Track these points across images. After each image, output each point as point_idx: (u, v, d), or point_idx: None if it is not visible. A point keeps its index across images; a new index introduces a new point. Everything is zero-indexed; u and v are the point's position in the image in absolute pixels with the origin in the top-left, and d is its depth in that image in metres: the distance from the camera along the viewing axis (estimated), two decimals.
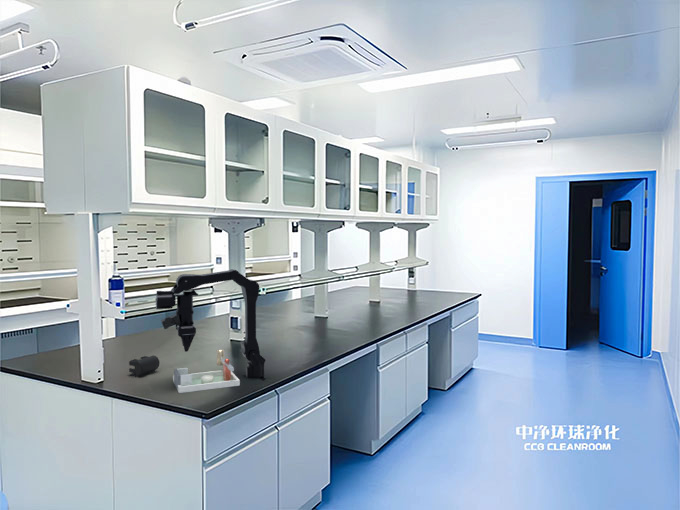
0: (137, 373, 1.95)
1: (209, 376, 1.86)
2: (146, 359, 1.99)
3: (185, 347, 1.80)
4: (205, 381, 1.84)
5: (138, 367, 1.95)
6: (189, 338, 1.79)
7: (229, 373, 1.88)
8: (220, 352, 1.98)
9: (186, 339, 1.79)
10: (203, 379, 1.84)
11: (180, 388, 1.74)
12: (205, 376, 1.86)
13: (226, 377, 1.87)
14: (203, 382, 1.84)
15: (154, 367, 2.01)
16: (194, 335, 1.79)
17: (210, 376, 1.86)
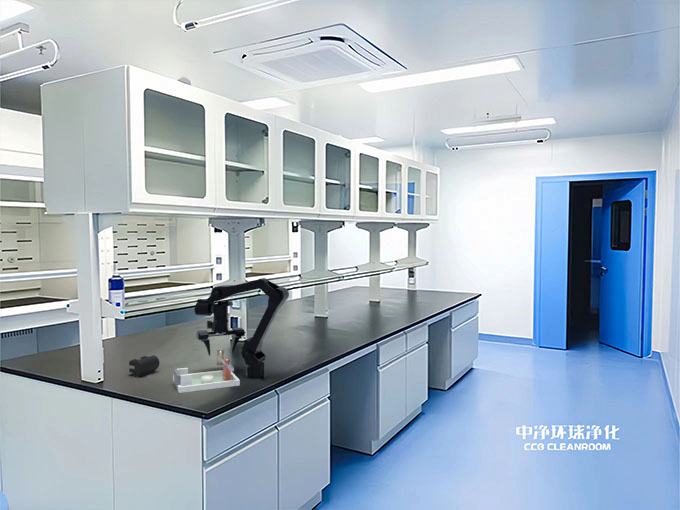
0: (137, 373, 1.95)
1: (209, 376, 1.86)
2: (146, 359, 1.99)
3: (207, 351, 1.97)
4: (205, 381, 1.84)
5: (138, 367, 1.95)
6: None
7: (229, 373, 1.88)
8: (220, 352, 1.98)
9: (206, 344, 1.97)
10: (203, 379, 1.84)
11: (180, 388, 1.74)
12: (205, 376, 1.86)
13: (226, 377, 1.87)
14: (203, 382, 1.84)
15: (154, 367, 2.01)
16: (204, 342, 1.94)
17: (210, 376, 1.86)
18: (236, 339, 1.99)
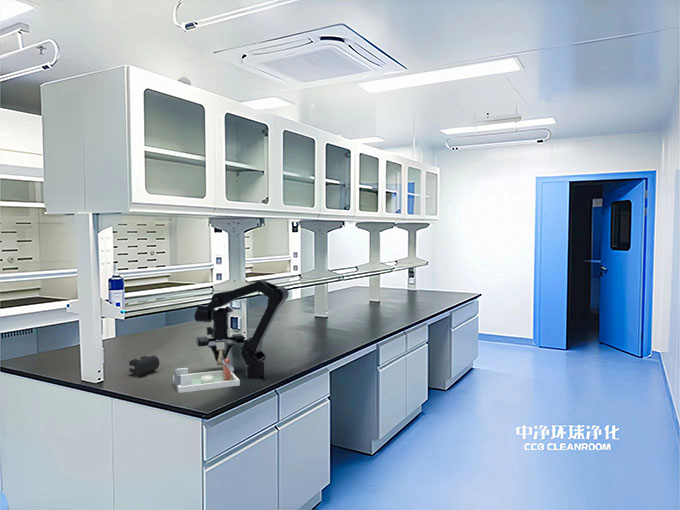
0: (137, 373, 1.95)
1: (209, 376, 1.86)
2: (146, 359, 1.99)
3: None
4: (205, 381, 1.84)
5: (138, 367, 1.95)
6: None
7: (229, 373, 1.88)
8: (220, 352, 1.98)
9: (213, 350, 1.98)
10: (203, 379, 1.84)
11: (180, 388, 1.74)
12: (205, 376, 1.86)
13: (226, 377, 1.87)
14: (203, 382, 1.84)
15: (154, 367, 2.01)
16: (211, 348, 1.95)
17: (210, 376, 1.86)
18: (229, 346, 1.98)
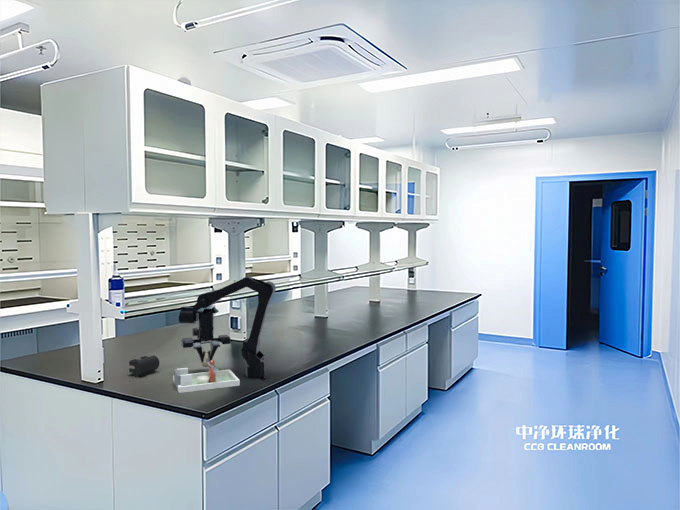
0: (137, 373, 1.95)
1: (205, 376, 1.86)
2: (146, 359, 1.99)
3: (200, 359, 1.96)
4: (201, 381, 1.83)
5: (138, 367, 1.95)
6: None
7: (214, 375, 1.85)
8: (206, 353, 1.95)
9: None
10: (199, 379, 1.84)
11: (180, 388, 1.74)
12: (201, 376, 1.86)
13: (211, 379, 1.85)
14: (199, 382, 1.84)
15: (154, 367, 2.01)
16: (197, 349, 1.93)
17: (207, 376, 1.86)
18: (214, 347, 1.96)
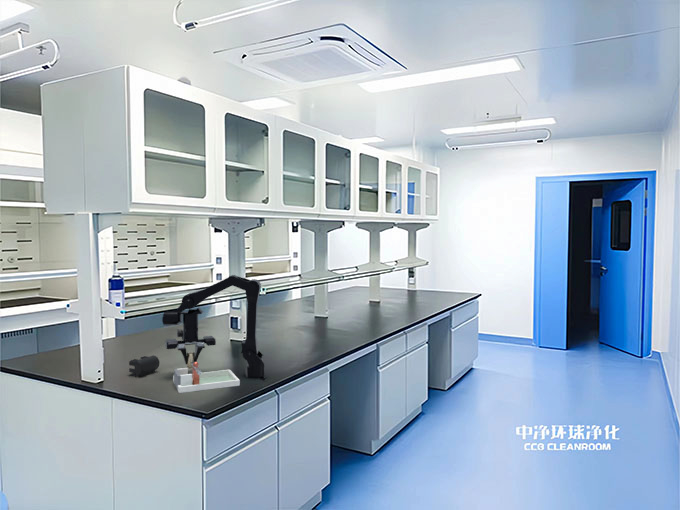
0: (137, 373, 1.95)
1: None
2: (146, 359, 1.99)
3: (184, 360, 1.93)
4: None
5: (138, 367, 1.95)
6: None
7: (198, 377, 1.83)
8: (190, 355, 1.93)
9: None
10: None
11: (180, 388, 1.74)
12: None
13: (194, 381, 1.82)
14: None
15: (154, 367, 2.01)
16: (181, 350, 1.90)
17: None
18: (199, 349, 1.93)
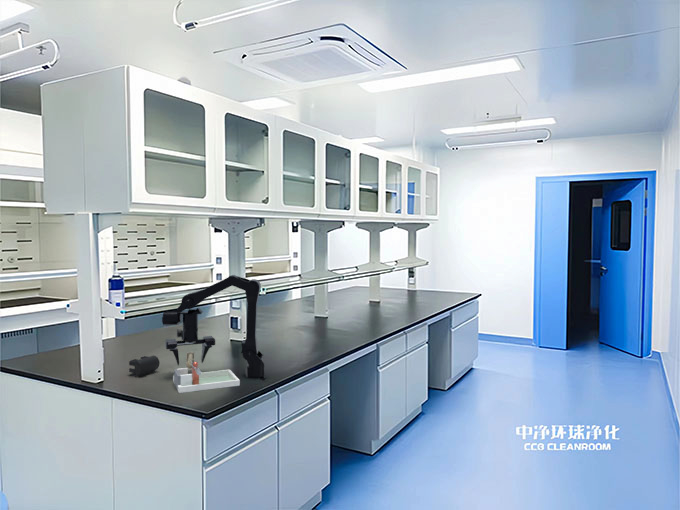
0: (137, 373, 1.95)
1: None
2: (146, 359, 1.99)
3: None
4: None
5: (138, 367, 1.95)
6: None
7: (197, 377, 1.83)
8: (190, 355, 1.93)
9: None
10: None
11: (180, 388, 1.74)
12: None
13: (194, 381, 1.82)
14: None
15: (154, 367, 2.01)
16: None
17: None
18: (206, 348, 1.94)
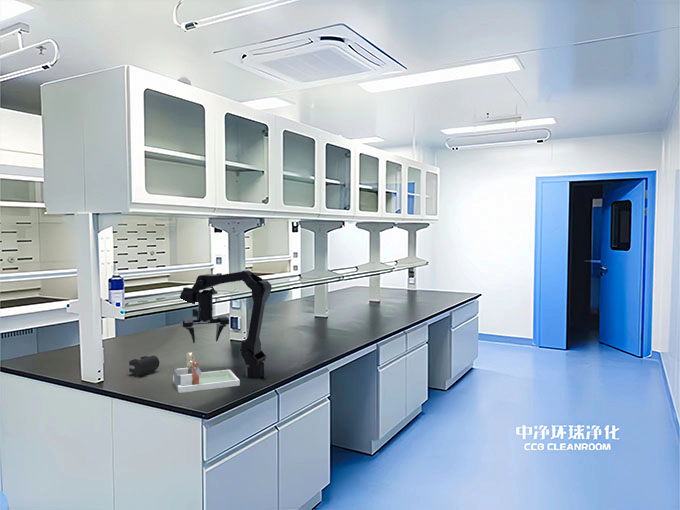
0: (137, 373, 1.95)
1: None
2: (146, 359, 1.99)
3: (192, 339, 2.00)
4: None
5: (138, 367, 1.95)
6: None
7: (197, 377, 1.83)
8: (190, 355, 1.93)
9: None
10: None
11: (180, 388, 1.74)
12: None
13: (194, 381, 1.82)
14: None
15: (154, 367, 2.01)
16: (189, 329, 1.96)
17: None
18: (220, 327, 2.02)
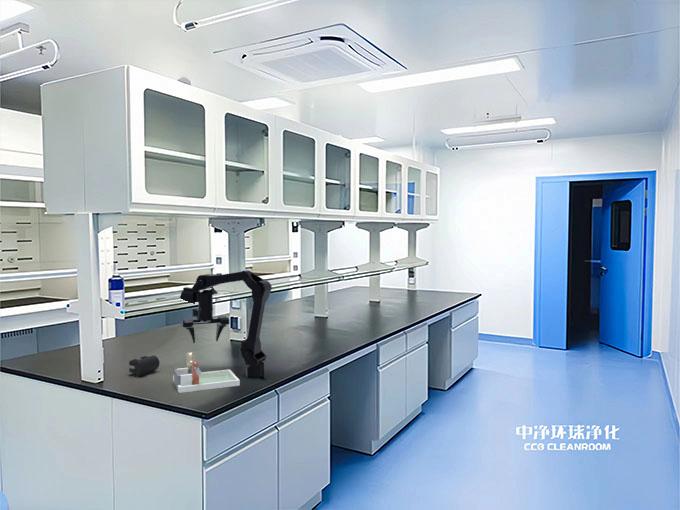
0: (137, 373, 1.95)
1: None
2: (146, 359, 1.99)
3: (192, 339, 2.00)
4: None
5: (138, 367, 1.95)
6: None
7: (197, 377, 1.83)
8: (190, 355, 1.93)
9: None
10: None
11: (180, 388, 1.74)
12: None
13: (194, 381, 1.82)
14: None
15: (154, 367, 2.01)
16: (189, 329, 1.96)
17: None
18: (221, 327, 2.02)
